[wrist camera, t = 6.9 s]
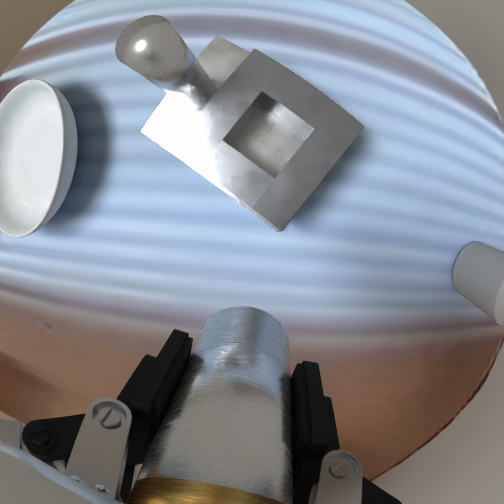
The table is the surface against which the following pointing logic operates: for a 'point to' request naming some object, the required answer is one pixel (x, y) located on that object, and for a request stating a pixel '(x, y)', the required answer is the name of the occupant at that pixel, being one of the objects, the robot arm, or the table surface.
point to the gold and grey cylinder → (226, 419)
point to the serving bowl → (34, 156)
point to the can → (481, 278)
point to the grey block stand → (239, 118)
